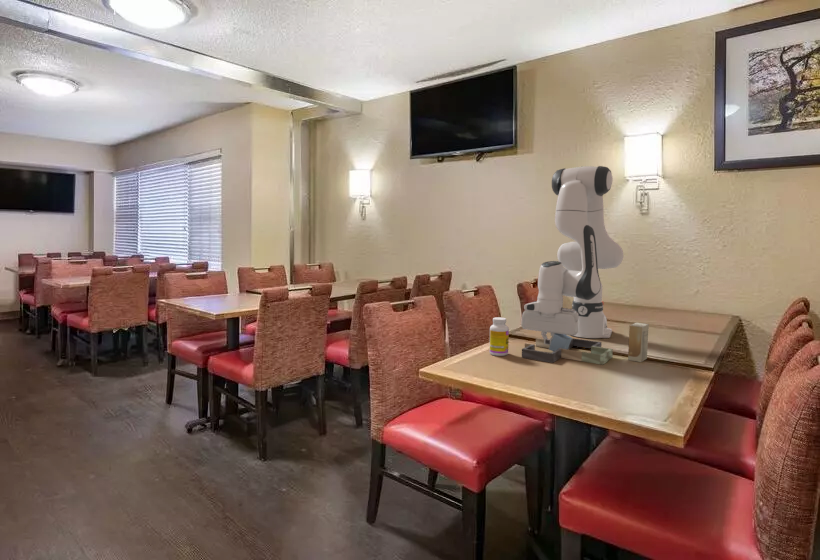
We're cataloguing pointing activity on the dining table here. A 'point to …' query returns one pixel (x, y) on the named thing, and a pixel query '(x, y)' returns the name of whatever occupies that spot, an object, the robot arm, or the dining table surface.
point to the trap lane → (569, 352)
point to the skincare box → (638, 342)
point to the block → (560, 342)
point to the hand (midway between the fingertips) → (548, 344)
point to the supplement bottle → (499, 337)
